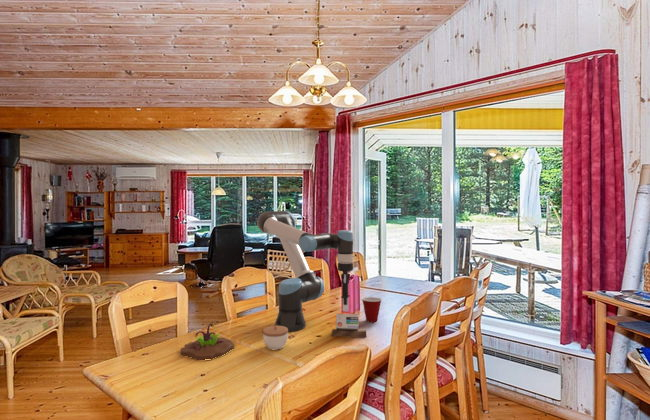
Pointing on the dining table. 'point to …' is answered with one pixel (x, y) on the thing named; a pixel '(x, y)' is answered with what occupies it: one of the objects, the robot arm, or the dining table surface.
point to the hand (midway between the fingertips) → (345, 310)
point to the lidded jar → (275, 336)
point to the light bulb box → (347, 321)
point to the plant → (207, 346)
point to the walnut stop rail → (349, 333)
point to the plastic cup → (371, 308)
